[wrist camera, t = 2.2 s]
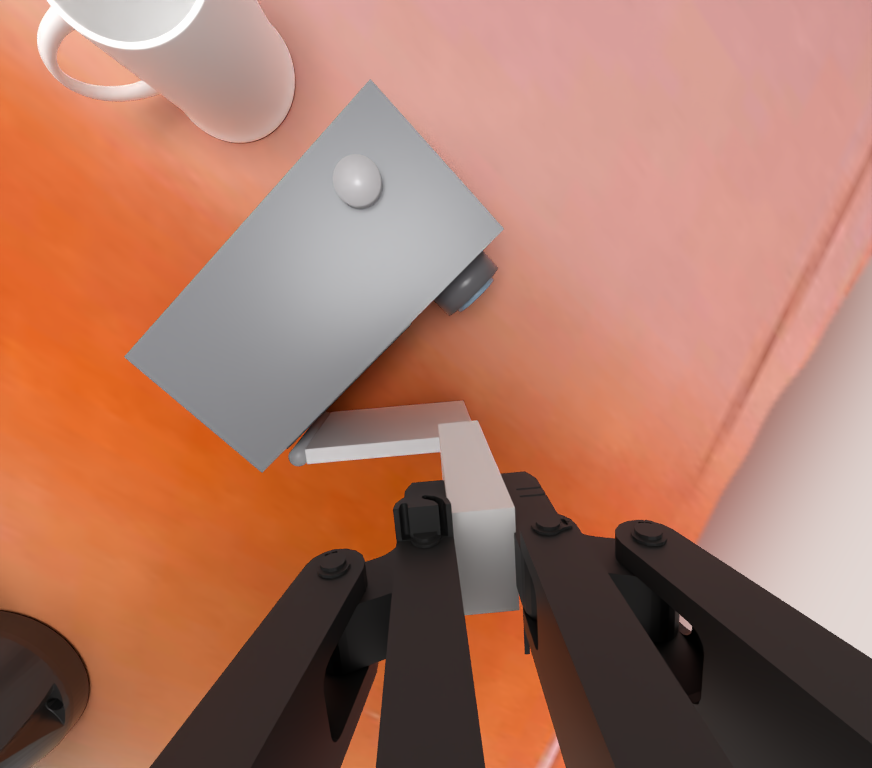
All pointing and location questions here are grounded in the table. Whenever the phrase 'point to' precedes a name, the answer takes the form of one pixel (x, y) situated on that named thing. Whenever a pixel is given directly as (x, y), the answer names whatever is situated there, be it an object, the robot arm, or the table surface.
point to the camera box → (320, 281)
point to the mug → (184, 58)
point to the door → (376, 432)
